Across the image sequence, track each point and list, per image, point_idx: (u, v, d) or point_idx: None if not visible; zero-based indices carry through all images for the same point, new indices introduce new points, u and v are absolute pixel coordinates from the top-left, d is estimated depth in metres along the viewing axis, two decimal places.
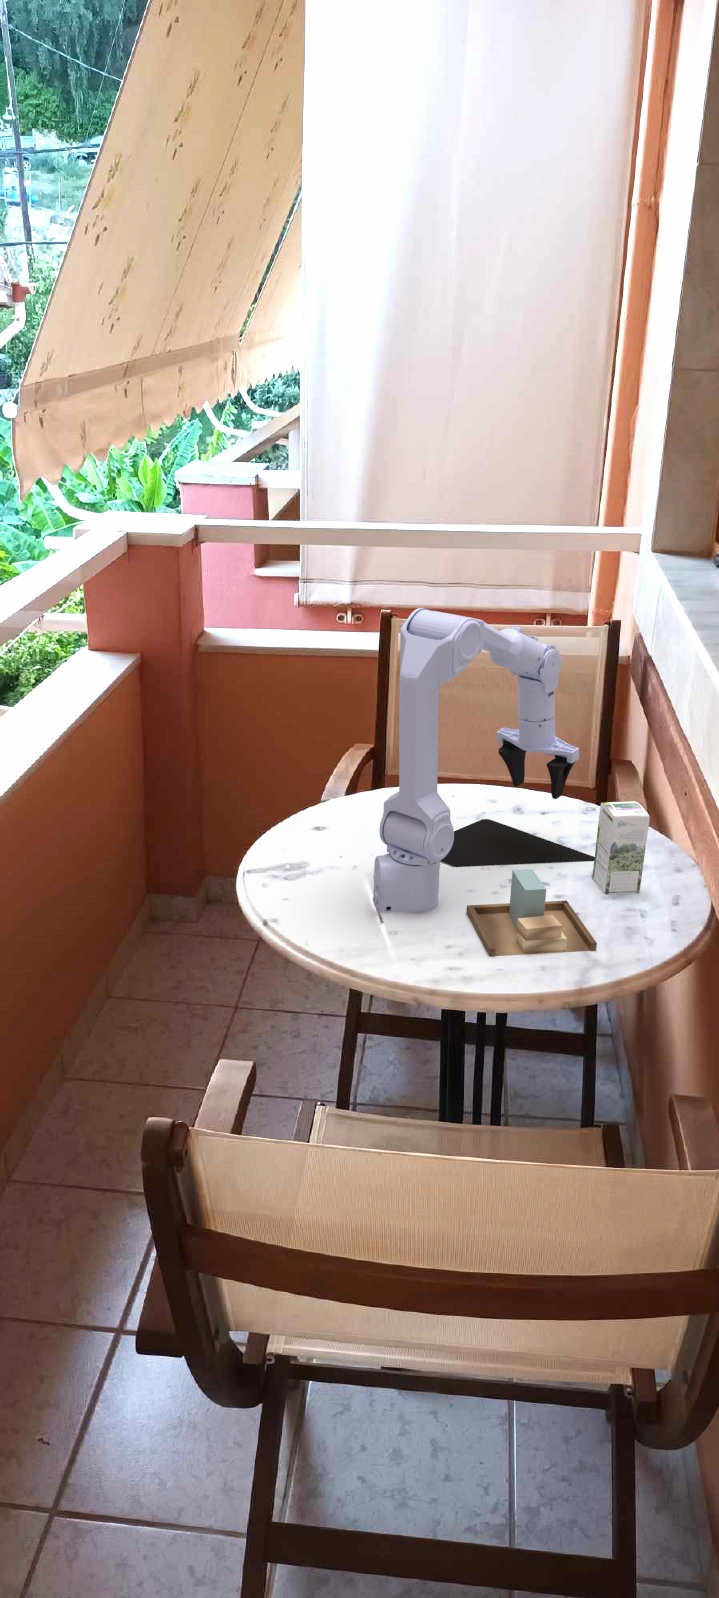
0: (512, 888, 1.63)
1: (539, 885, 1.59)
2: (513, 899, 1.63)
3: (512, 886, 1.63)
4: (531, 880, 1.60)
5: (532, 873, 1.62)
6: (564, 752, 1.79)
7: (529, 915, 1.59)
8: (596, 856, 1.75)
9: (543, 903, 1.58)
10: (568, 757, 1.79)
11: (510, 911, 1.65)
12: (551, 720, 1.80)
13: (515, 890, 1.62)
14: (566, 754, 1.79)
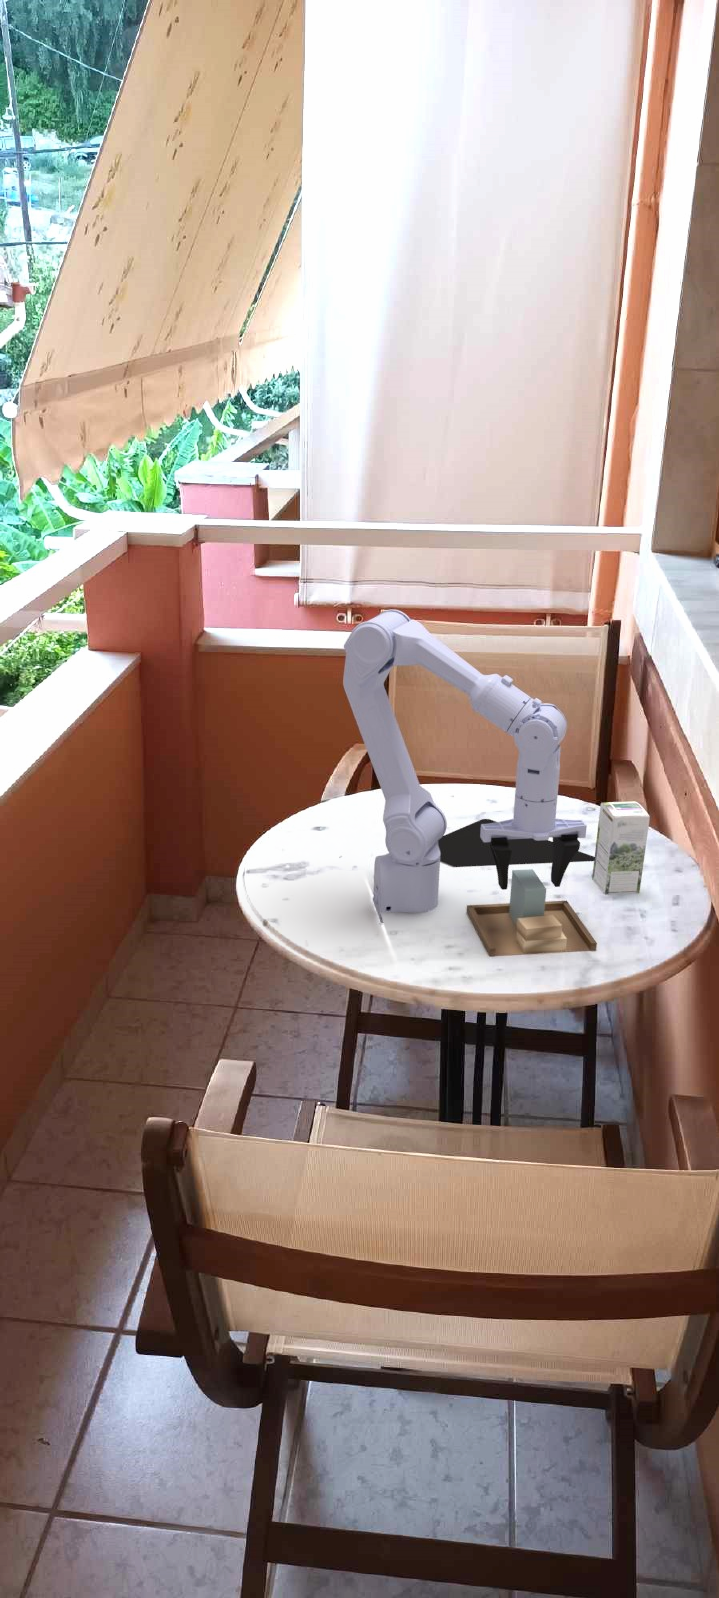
0: (512, 888, 1.63)
1: (539, 885, 1.59)
2: (513, 899, 1.63)
3: (512, 886, 1.63)
4: (531, 880, 1.60)
5: (532, 873, 1.62)
6: None
7: (529, 915, 1.59)
8: (596, 856, 1.75)
9: (543, 903, 1.58)
10: None
11: (510, 911, 1.65)
12: (515, 797, 1.56)
13: (515, 890, 1.62)
14: None
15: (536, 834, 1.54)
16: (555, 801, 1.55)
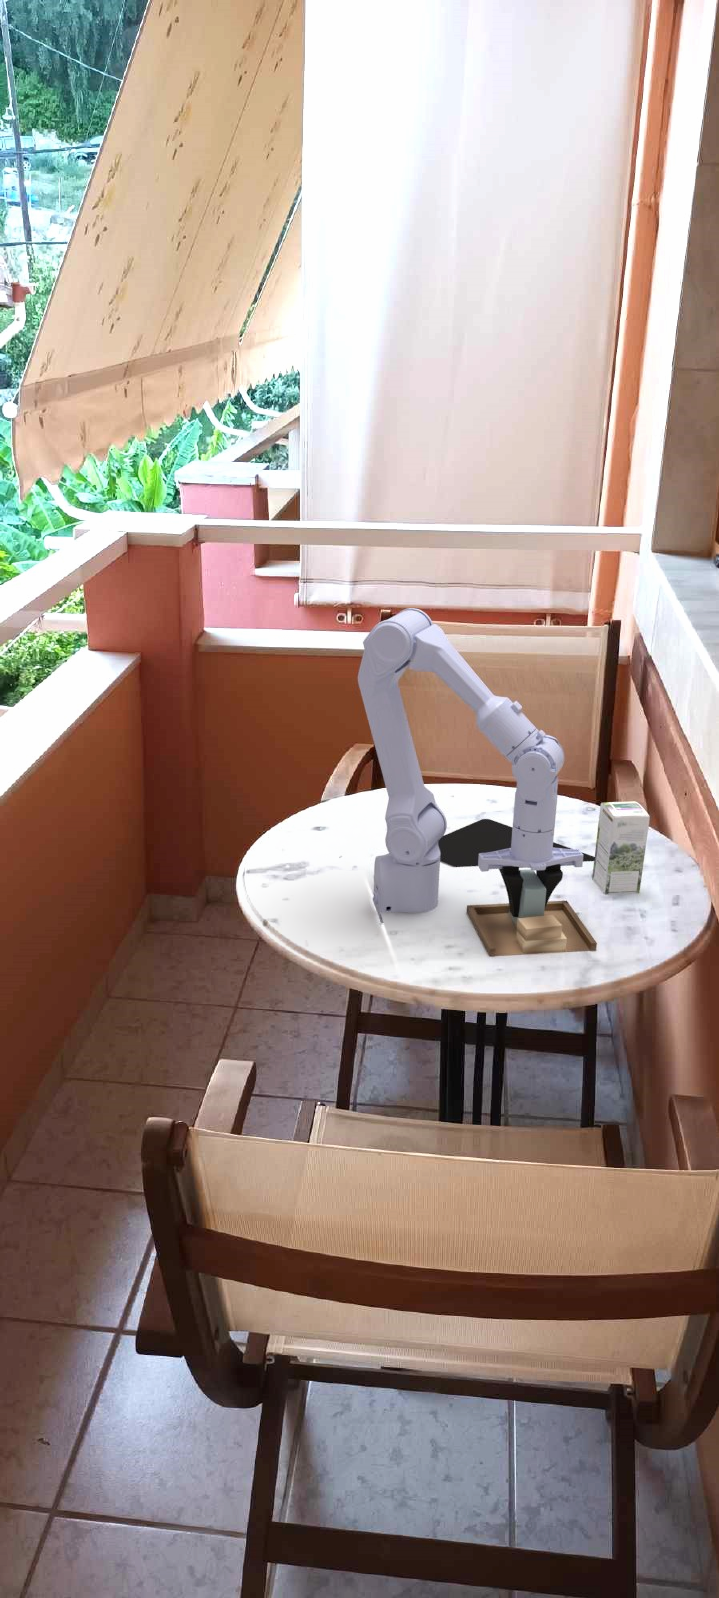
0: None
1: (539, 885, 1.59)
2: None
3: None
4: (531, 880, 1.60)
5: (532, 873, 1.62)
6: None
7: (529, 915, 1.59)
8: (596, 856, 1.75)
9: (543, 903, 1.58)
10: None
11: None
12: (513, 827, 1.57)
13: None
14: (485, 856, 1.59)
15: (533, 864, 1.56)
16: (552, 831, 1.56)
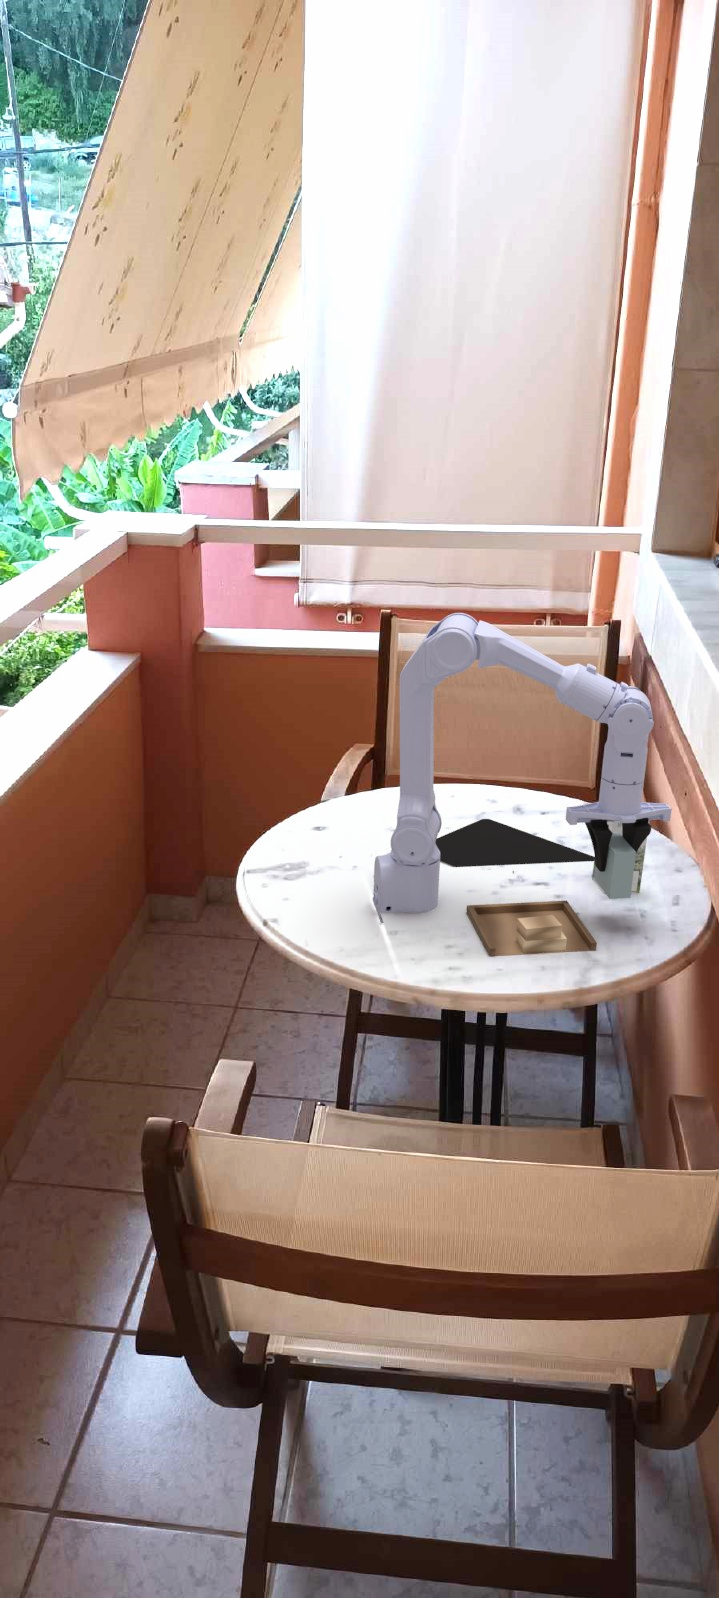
0: None
1: (628, 848, 1.58)
2: None
3: None
4: (620, 843, 1.59)
5: (619, 837, 1.61)
6: None
7: (618, 878, 1.58)
8: None
9: (632, 866, 1.57)
10: None
11: (595, 875, 1.64)
12: (602, 780, 1.56)
13: None
14: None
15: (623, 817, 1.55)
16: (642, 784, 1.55)
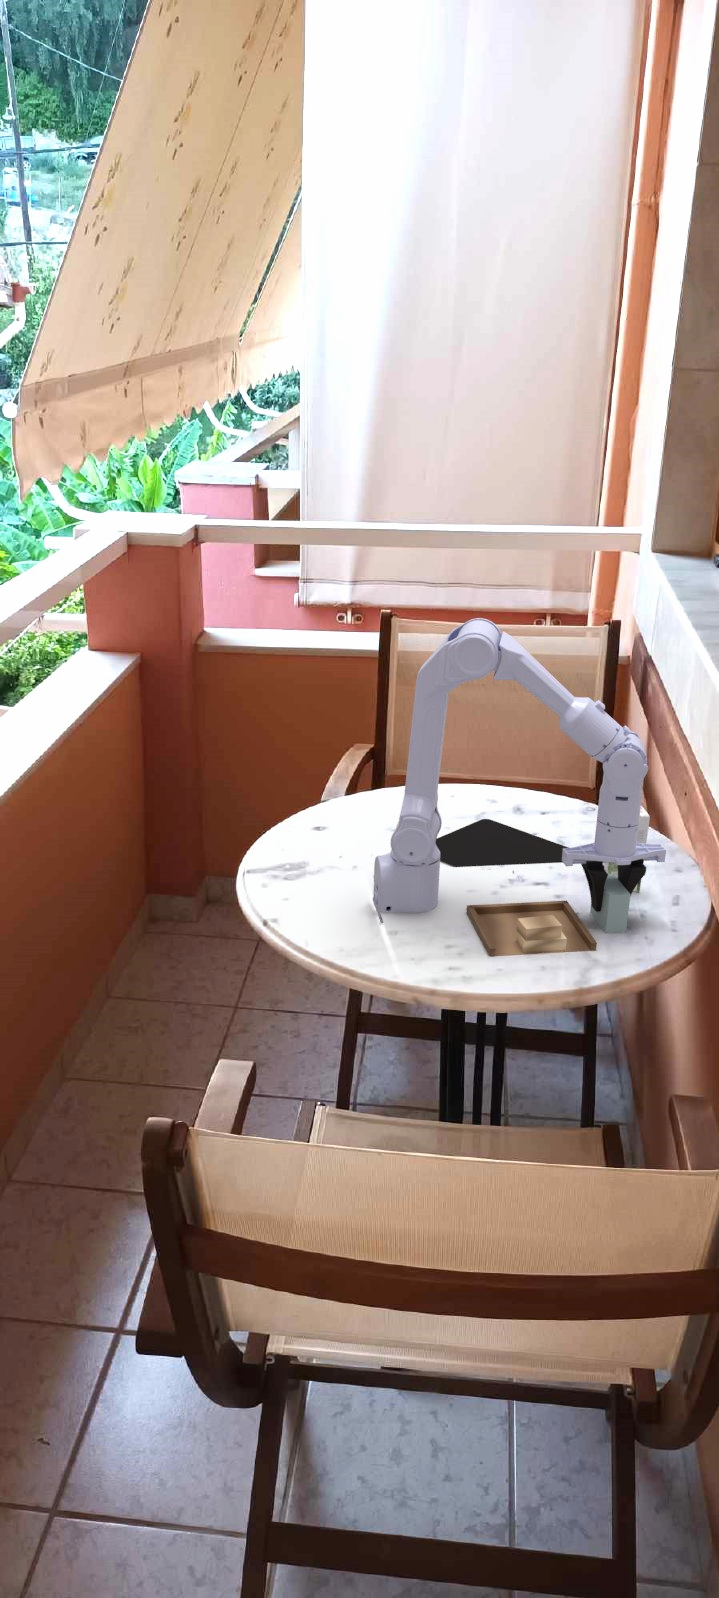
0: None
1: (623, 890, 1.60)
2: None
3: None
4: (614, 886, 1.62)
5: (614, 878, 1.64)
6: None
7: (613, 920, 1.60)
8: None
9: (627, 908, 1.60)
10: None
11: None
12: (597, 822, 1.59)
13: None
14: (569, 851, 1.61)
15: (618, 859, 1.57)
16: (637, 826, 1.58)
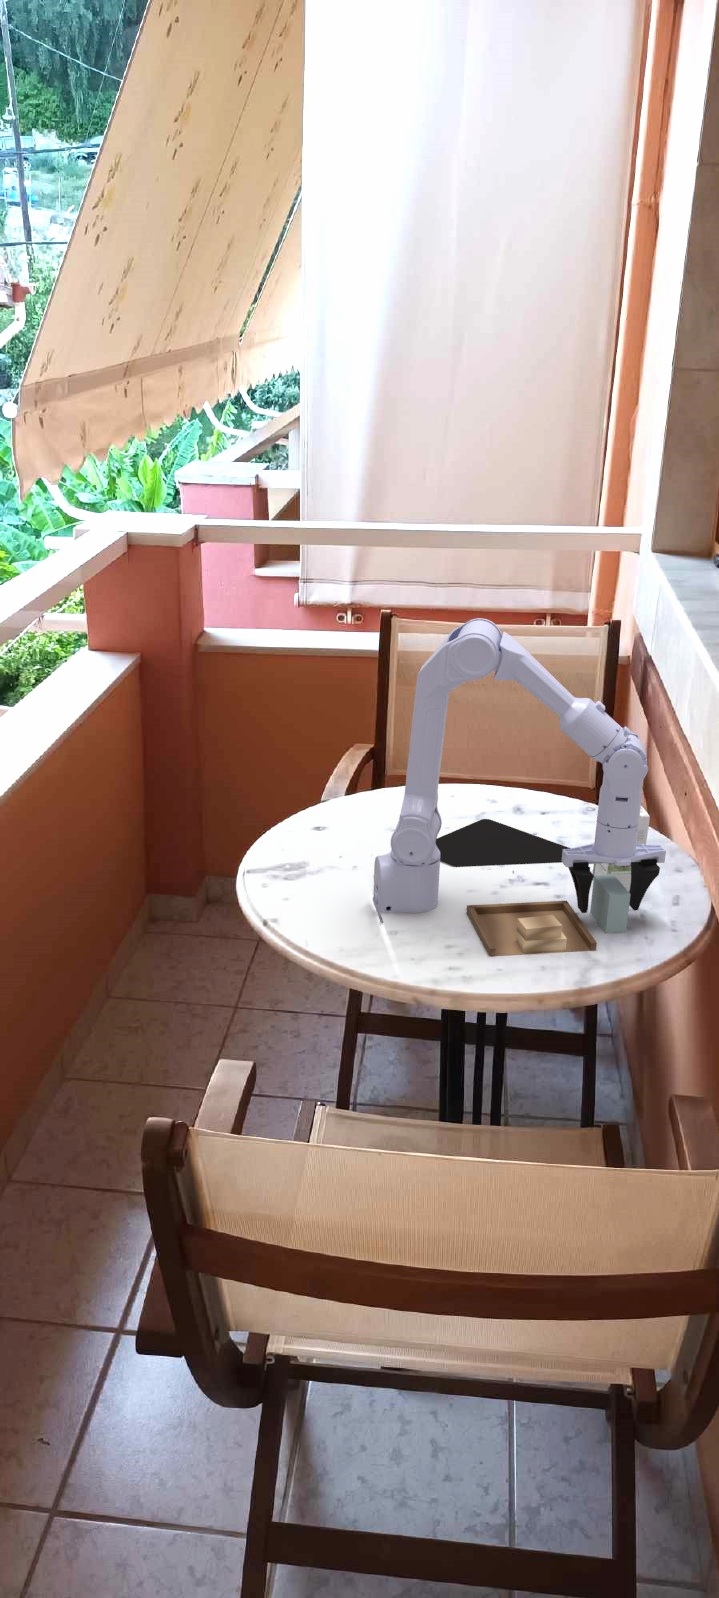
0: (593, 893, 1.65)
1: (623, 890, 1.60)
2: (594, 904, 1.65)
3: (594, 891, 1.65)
4: (614, 886, 1.62)
5: (614, 878, 1.64)
6: None
7: (613, 920, 1.60)
8: None
9: (627, 908, 1.60)
10: None
11: None
12: (597, 823, 1.59)
13: (597, 895, 1.64)
14: None
15: (618, 859, 1.57)
16: (637, 827, 1.58)
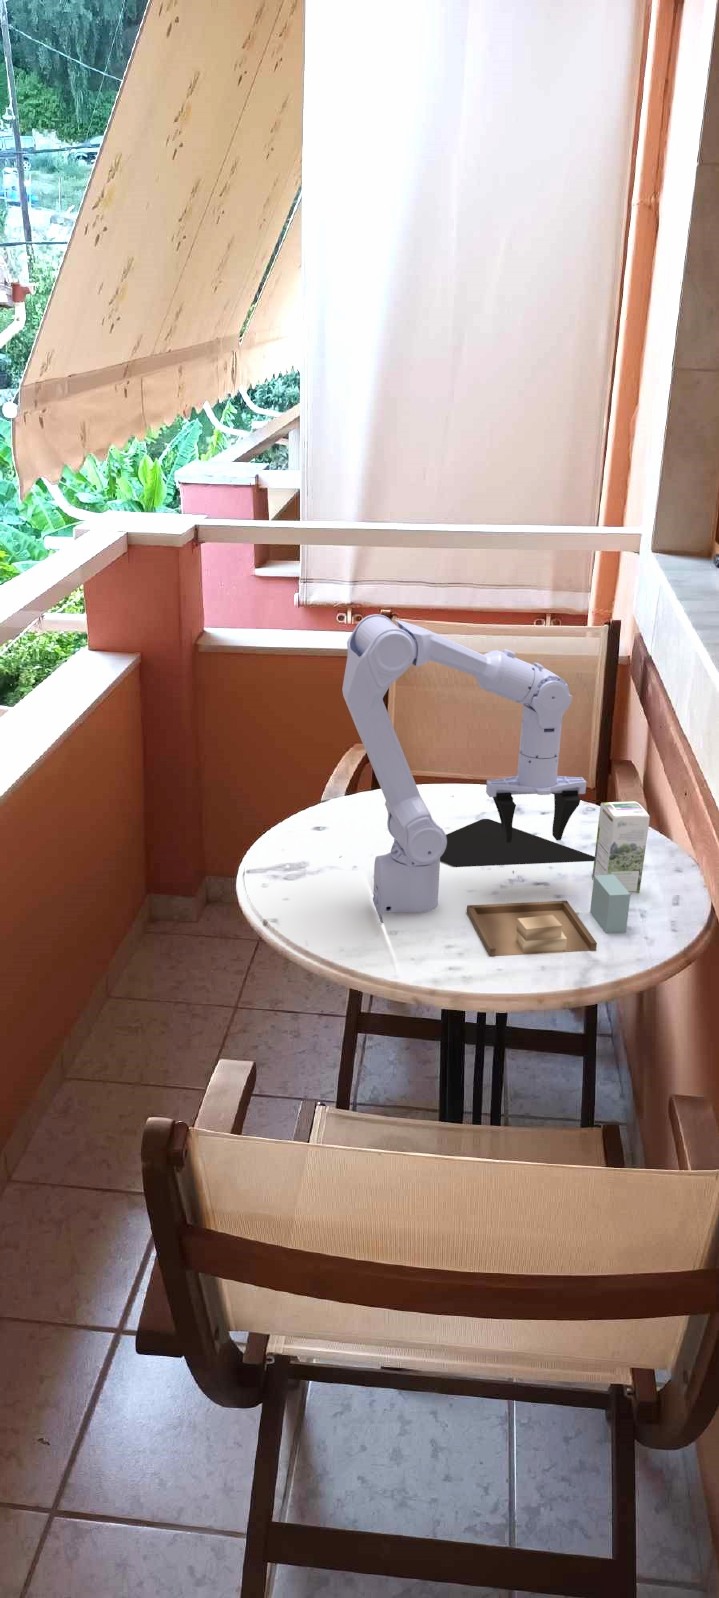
0: (593, 893, 1.65)
1: (623, 890, 1.60)
2: (594, 904, 1.65)
3: (594, 891, 1.65)
4: (614, 886, 1.62)
5: (614, 878, 1.64)
6: None
7: (613, 920, 1.60)
8: (596, 856, 1.75)
9: (627, 908, 1.60)
10: None
11: None
12: (519, 754, 1.65)
13: (597, 895, 1.64)
14: None
15: (539, 789, 1.64)
16: (557, 758, 1.64)
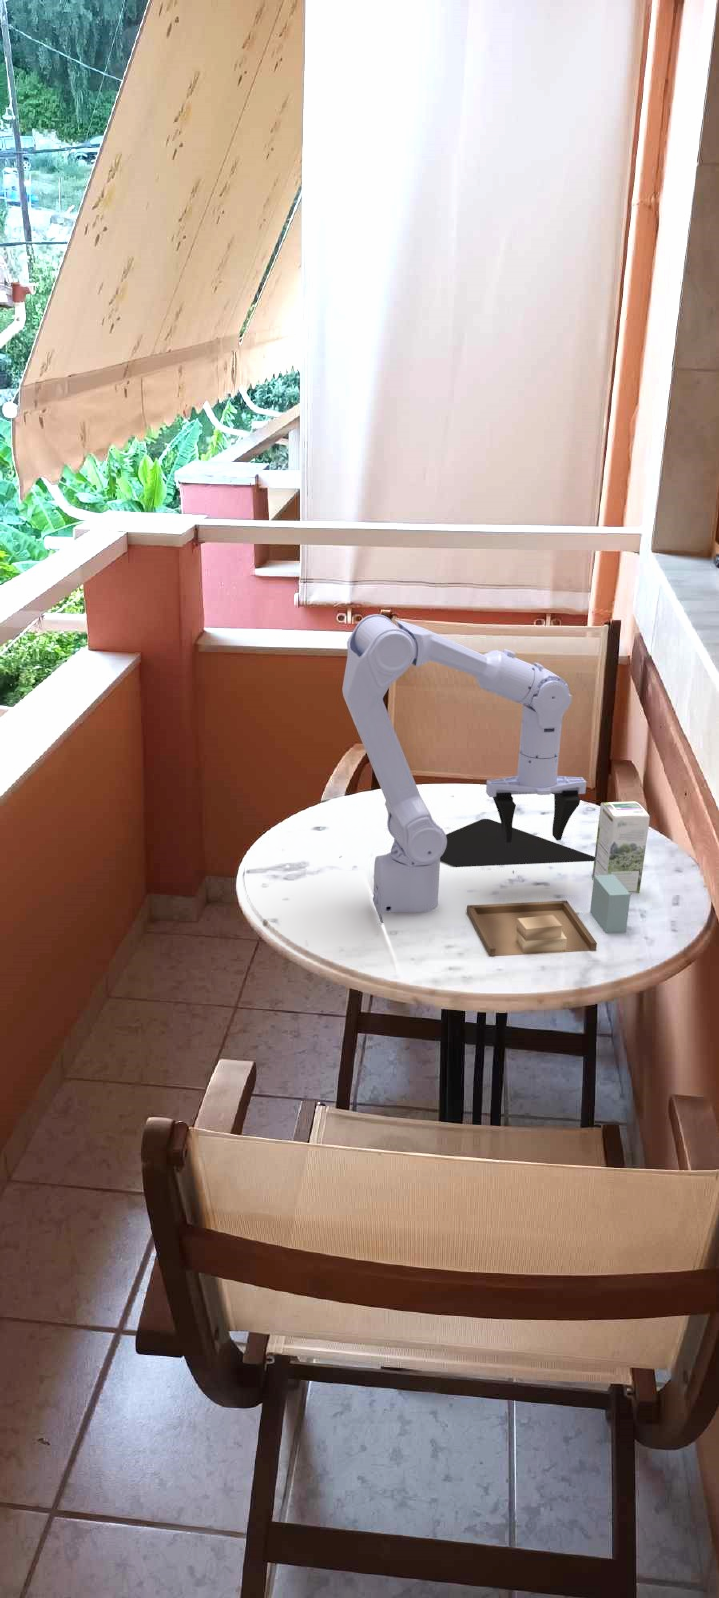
0: (593, 893, 1.65)
1: (623, 890, 1.60)
2: (594, 904, 1.65)
3: (594, 891, 1.65)
4: (614, 886, 1.62)
5: (614, 878, 1.64)
6: None
7: (613, 920, 1.60)
8: (596, 856, 1.75)
9: (627, 908, 1.60)
10: None
11: None
12: (519, 754, 1.65)
13: (597, 895, 1.64)
14: None
15: (539, 789, 1.64)
16: (557, 758, 1.64)
